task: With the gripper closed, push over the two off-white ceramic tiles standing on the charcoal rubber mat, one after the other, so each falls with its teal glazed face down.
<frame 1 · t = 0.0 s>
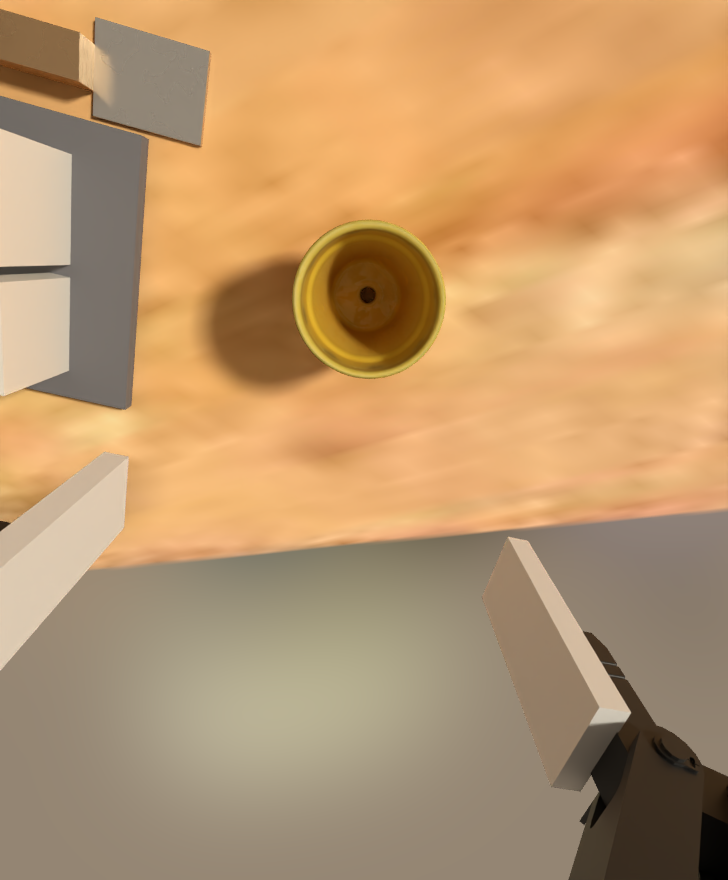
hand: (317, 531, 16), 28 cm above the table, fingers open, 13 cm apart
mat: (28, 258, 38), on the table
tile 1: (57, 208, 36), point 1 cm above the table, touching mat
turner: (83, 66, 34), on the table
plant pot: (366, 293, 40), on the table
tile 2: (57, 322, 39), point 1 cm above the table, touching mat
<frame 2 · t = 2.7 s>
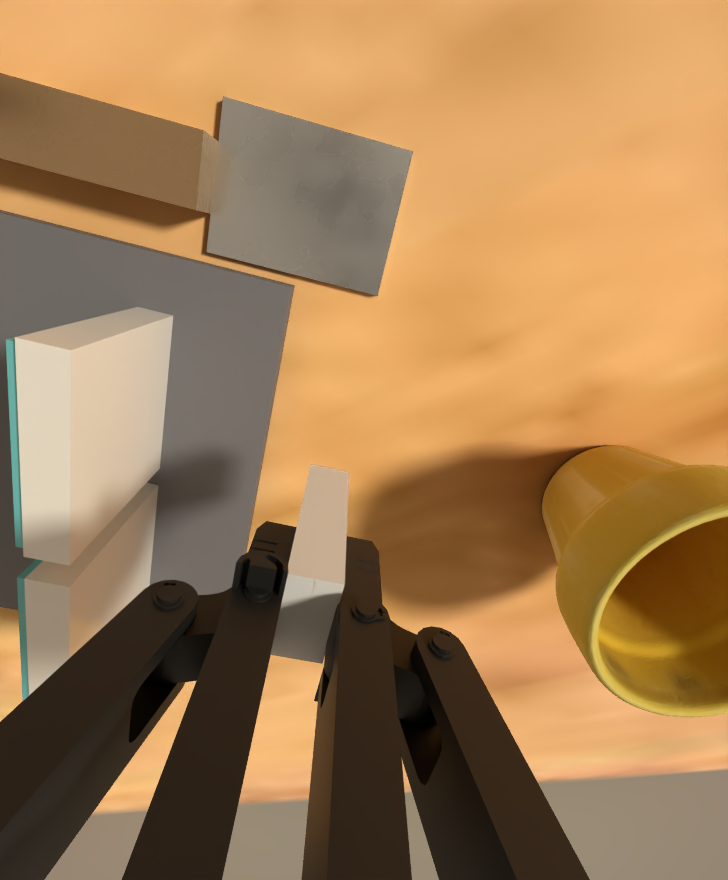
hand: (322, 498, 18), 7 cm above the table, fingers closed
mat: (93, 451, 25), on the table
tile 1: (145, 392, 22), point 1 cm above the table, touching mat
turner: (194, 174, 20), on the table
plant pot: (599, 494, 26), on the table
tile 2: (134, 542, 26), point 1 cm above the table, touching mat
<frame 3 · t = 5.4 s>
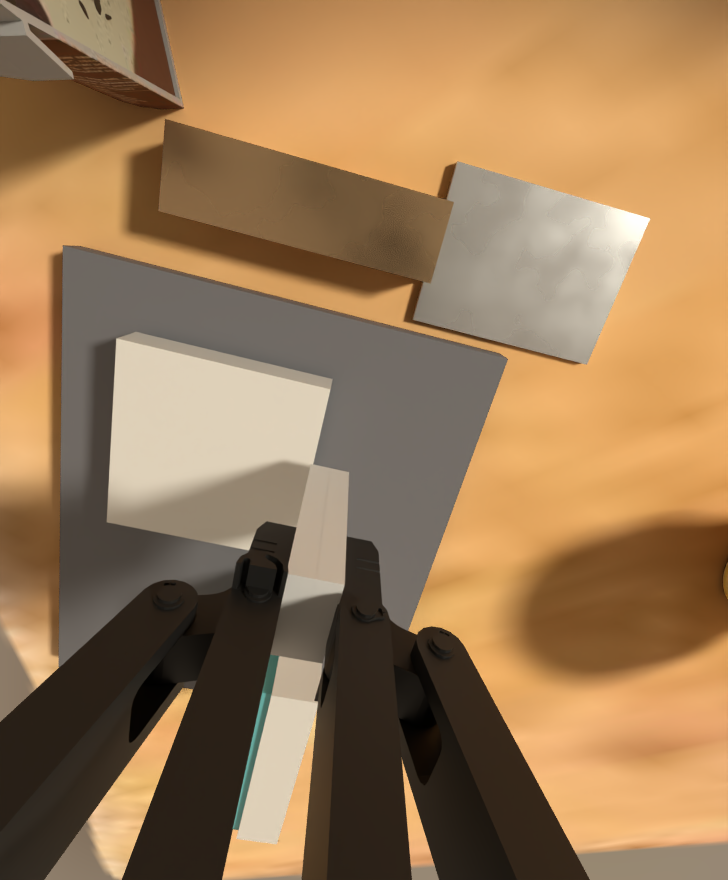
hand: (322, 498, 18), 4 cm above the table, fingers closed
mat: (258, 520, 23), on the table
tile 1: (311, 470, 20), point 2 cm above the table, tilted 90°, touching mat
turner: (408, 239, 19), on the table
tile 2: (296, 616, 24), point 1 cm above the table, touching mat
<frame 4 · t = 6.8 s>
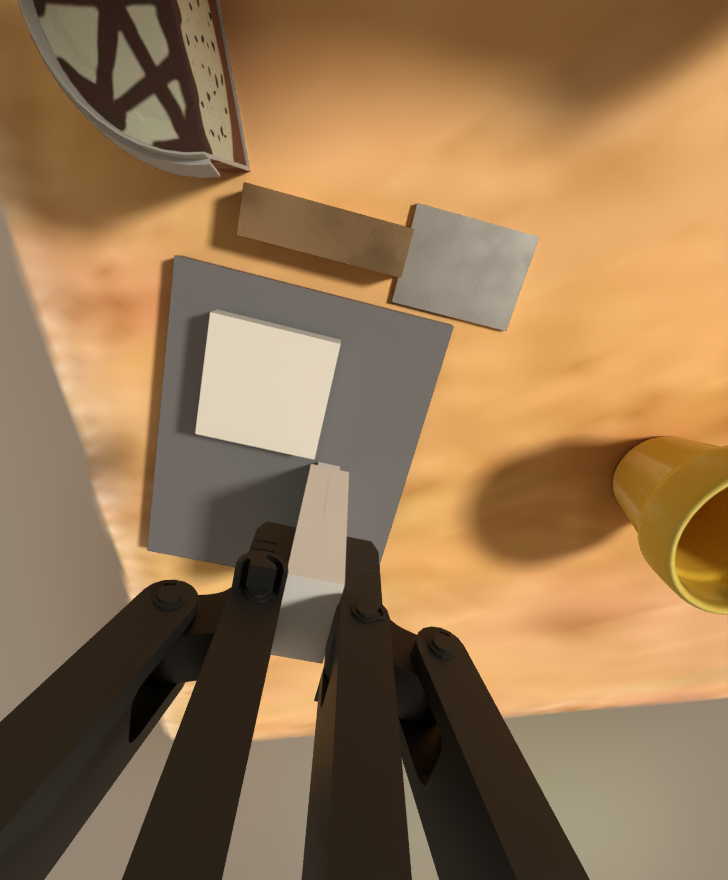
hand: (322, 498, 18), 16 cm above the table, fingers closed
mat: (289, 442, 34), on the table
food container: (181, 86, 26), on the table
tile 1: (327, 400, 31), point 2 cm above the table, tilted 90°, touching mat
turner: (388, 250, 30), on the table
plant pot: (653, 472, 36), on the table
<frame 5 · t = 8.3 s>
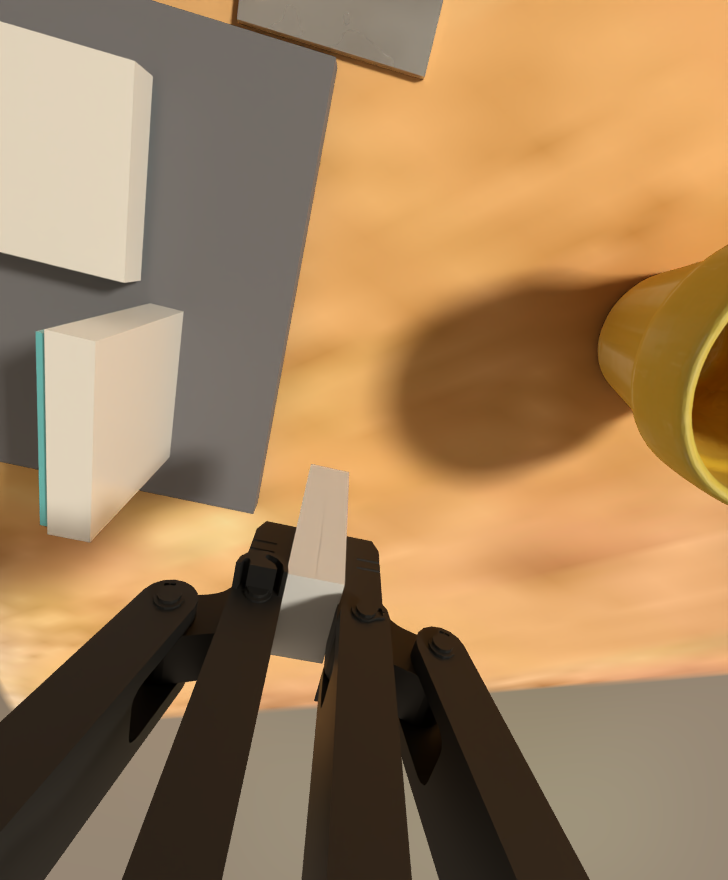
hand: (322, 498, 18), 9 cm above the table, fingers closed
mat: (112, 278, 23), on the table
tile 1: (140, 184, 19), point 2 cm above the table, tilted 90°, touching mat
plant pot: (659, 335, 24), on the table
tile 2: (156, 384, 24), point 1 cm above the table, touching mat
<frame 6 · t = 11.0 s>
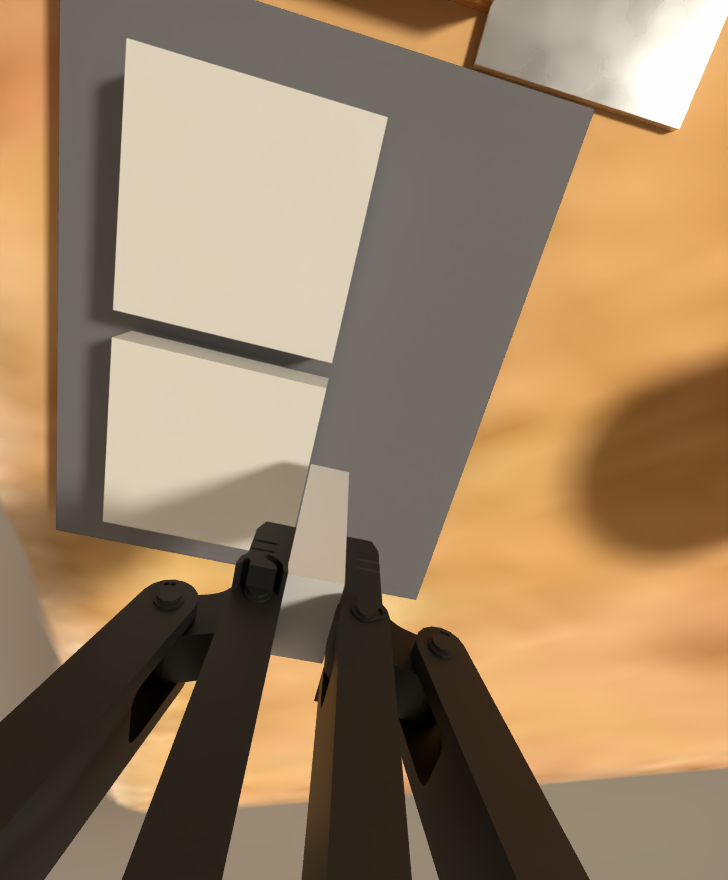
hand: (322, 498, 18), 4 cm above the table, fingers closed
mat: (287, 347, 20), on the table
tile 1: (357, 251, 17), point 2 cm above the table, tilted 90°, touching mat
tile 2: (308, 469, 20), point 2 cm above the table, tilted 90°, touching mat
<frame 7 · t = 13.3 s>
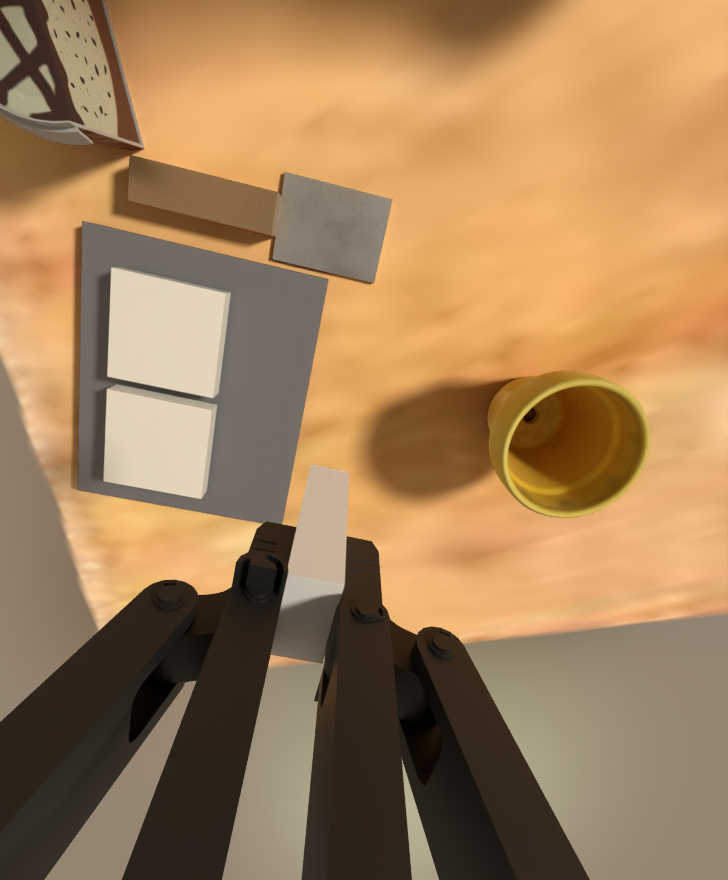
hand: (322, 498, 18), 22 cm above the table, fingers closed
mat: (198, 388, 39), on the table
food container: (80, 78, 31), on the table
tile 1: (222, 345, 35), point 2 cm above the table, tilted 90°, touching mat
turner: (266, 214, 35), on the table
plant pot: (524, 411, 41), on the table
tile 2: (209, 451, 38), point 2 cm above the table, tilted 90°, touching mat
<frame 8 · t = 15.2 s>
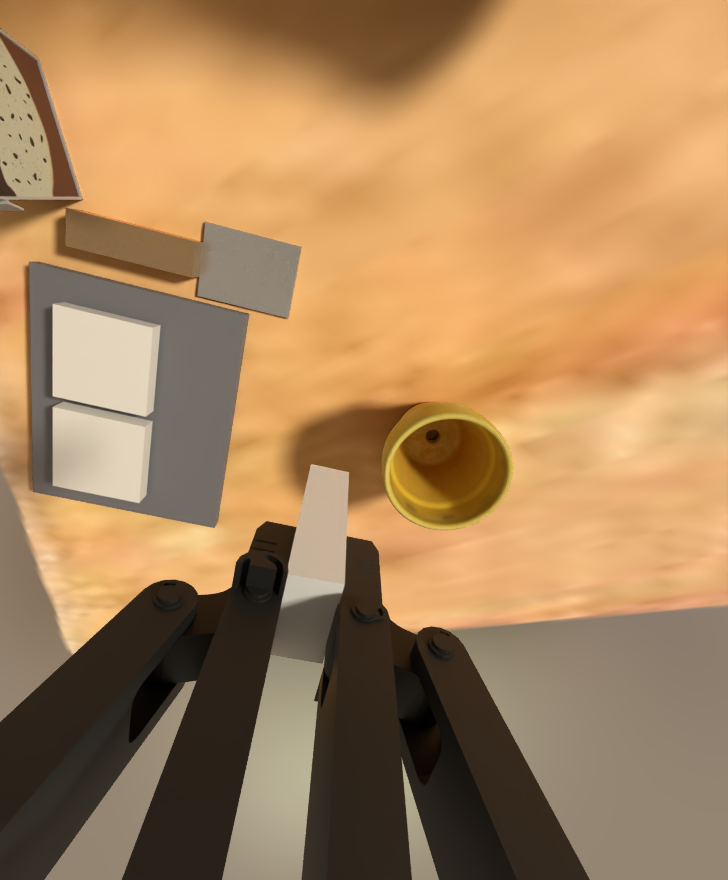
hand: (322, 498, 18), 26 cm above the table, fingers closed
mat: (137, 405, 44), on the table
food container: (25, 138, 36), on the table
tile 1: (154, 371, 40), point 2 cm above the table, tilted 90°, touching mat
turner: (191, 256, 39), on the table
plant pot: (430, 431, 45), on the table
tile 2: (146, 461, 44), point 2 cm above the table, tilted 90°, touching mat
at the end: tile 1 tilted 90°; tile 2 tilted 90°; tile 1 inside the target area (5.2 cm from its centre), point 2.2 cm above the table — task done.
